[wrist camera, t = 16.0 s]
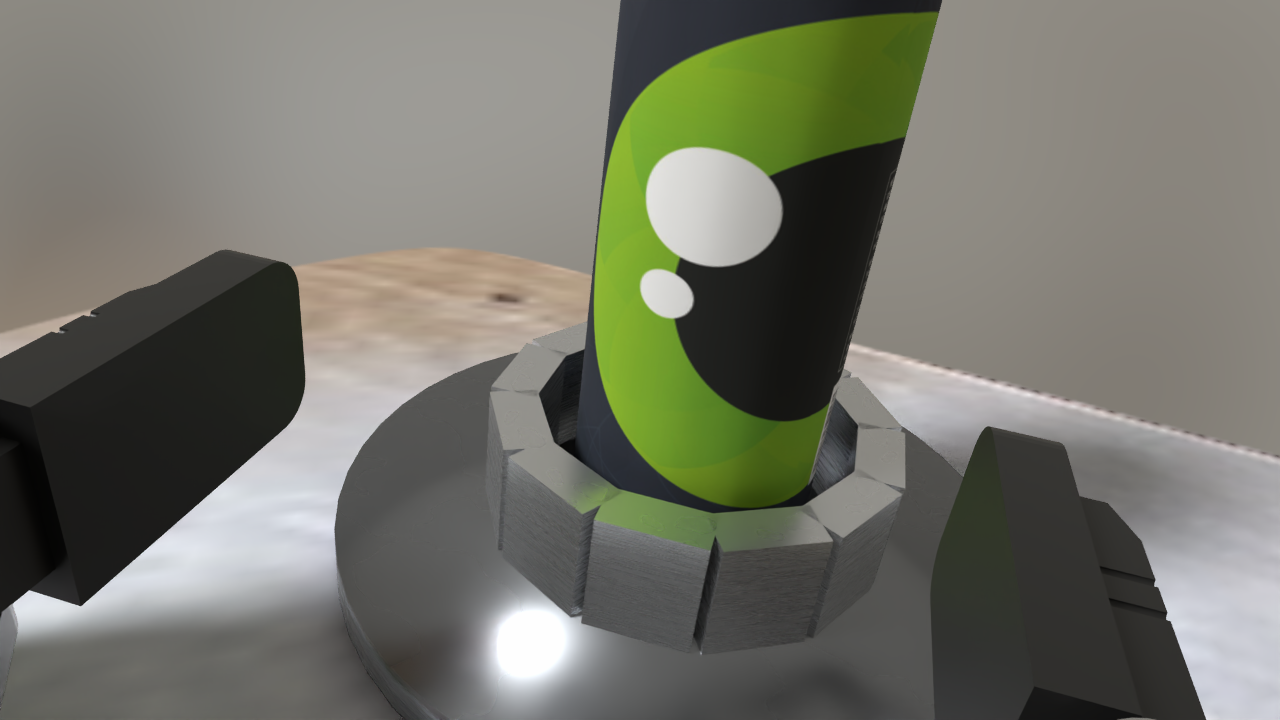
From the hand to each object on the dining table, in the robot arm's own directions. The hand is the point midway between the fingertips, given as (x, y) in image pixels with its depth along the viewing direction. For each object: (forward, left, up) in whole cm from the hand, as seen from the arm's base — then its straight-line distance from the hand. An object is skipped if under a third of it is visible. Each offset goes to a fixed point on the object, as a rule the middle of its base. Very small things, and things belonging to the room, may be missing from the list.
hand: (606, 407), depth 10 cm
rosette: (0, -11, -11) cm, 15 cm away
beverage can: (0, -11, -10) cm, 15 cm away
